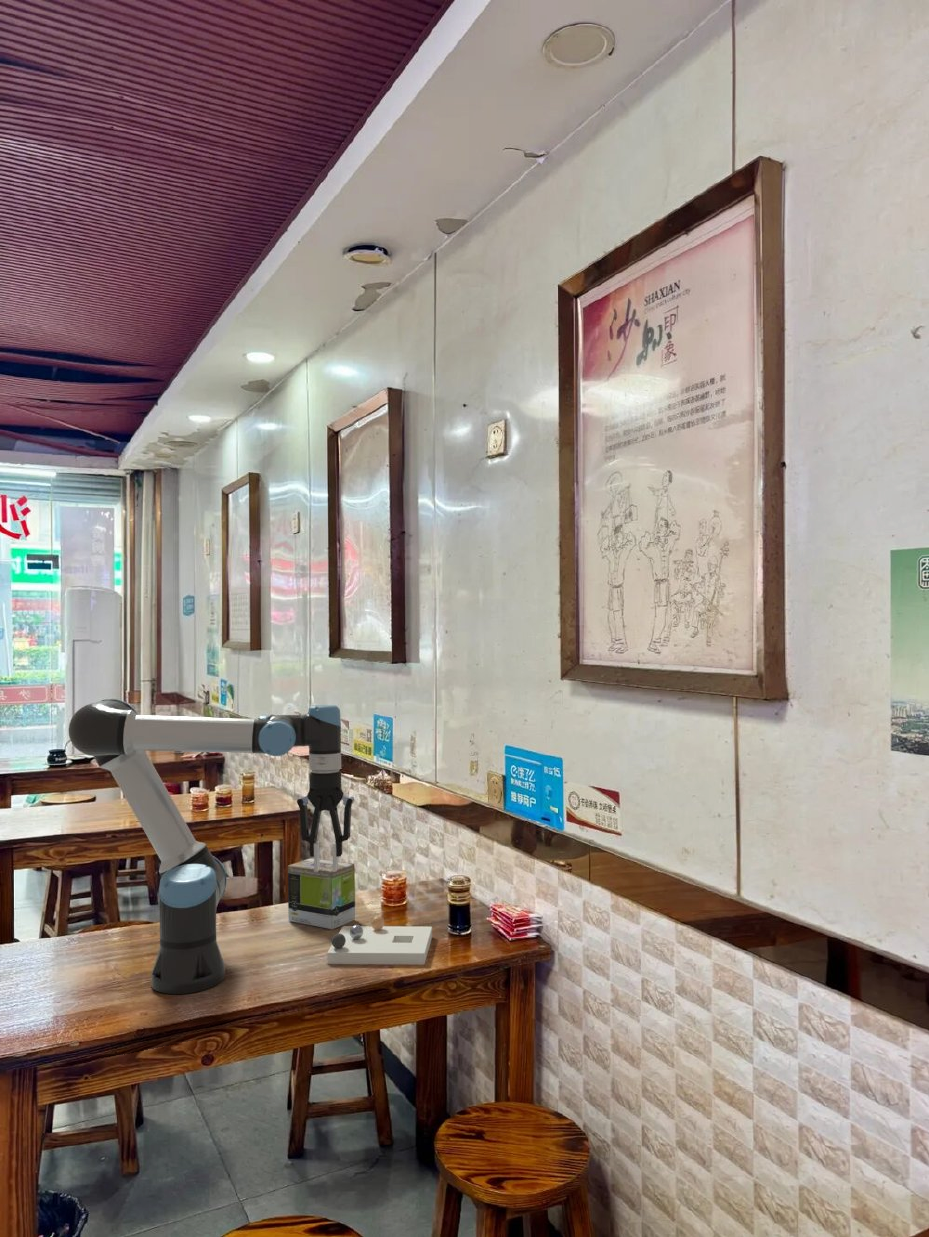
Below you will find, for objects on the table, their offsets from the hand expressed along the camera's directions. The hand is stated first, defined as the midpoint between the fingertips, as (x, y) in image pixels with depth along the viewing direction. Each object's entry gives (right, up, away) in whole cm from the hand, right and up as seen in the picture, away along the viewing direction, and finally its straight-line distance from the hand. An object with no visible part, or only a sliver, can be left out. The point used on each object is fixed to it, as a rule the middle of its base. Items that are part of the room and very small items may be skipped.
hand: (326, 869), depth 203 cm
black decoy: (+4, -14, -7) cm, 16 cm away
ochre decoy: (+12, -15, +5) cm, 19 cm away
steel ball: (+7, -14, -1) cm, 16 cm away
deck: (+13, -18, -1) cm, 23 cm away
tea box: (-4, -20, +21) cm, 29 cm away
